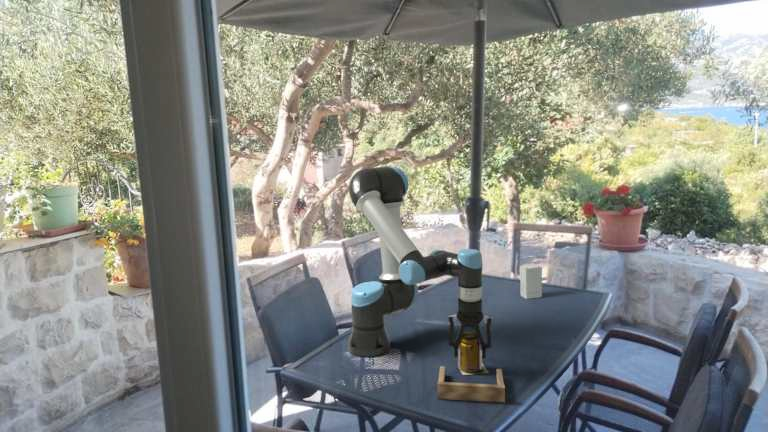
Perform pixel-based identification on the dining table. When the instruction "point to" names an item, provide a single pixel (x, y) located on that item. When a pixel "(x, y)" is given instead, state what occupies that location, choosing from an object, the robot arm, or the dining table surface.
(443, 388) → the bay
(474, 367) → the condiment
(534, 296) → the skincare box
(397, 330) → the dining table surface
